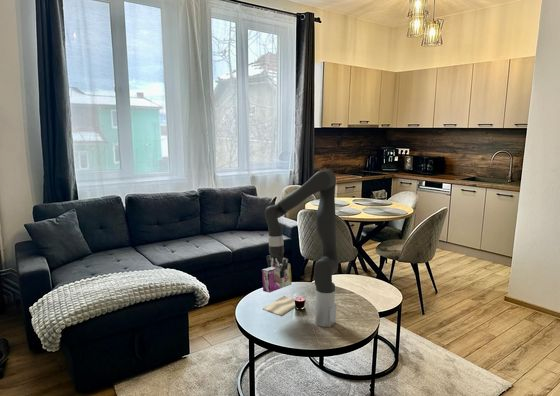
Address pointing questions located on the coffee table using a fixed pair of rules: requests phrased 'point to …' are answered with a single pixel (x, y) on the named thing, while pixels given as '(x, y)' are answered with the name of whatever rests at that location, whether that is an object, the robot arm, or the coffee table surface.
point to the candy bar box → (275, 278)
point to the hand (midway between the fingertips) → (278, 276)
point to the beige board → (280, 306)
